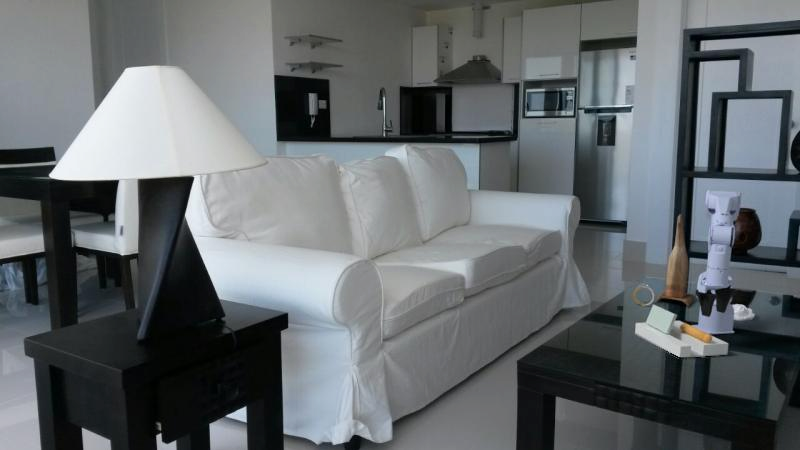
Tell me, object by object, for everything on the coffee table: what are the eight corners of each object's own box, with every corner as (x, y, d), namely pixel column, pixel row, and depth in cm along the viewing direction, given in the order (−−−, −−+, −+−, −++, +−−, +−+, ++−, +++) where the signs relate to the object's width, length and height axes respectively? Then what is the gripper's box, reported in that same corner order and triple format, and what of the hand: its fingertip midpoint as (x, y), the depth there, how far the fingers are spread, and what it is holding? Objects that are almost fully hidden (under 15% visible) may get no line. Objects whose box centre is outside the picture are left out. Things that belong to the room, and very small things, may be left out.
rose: (760, 305, 213) (750, 310, 207) (758, 318, 214) (749, 323, 207) (728, 299, 220) (718, 304, 214) (727, 311, 221) (716, 316, 214)
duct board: (678, 331, 197) (679, 320, 196) (727, 355, 177) (728, 343, 176) (634, 334, 194) (635, 323, 193) (679, 358, 173) (680, 346, 173)
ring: (631, 305, 225) (633, 283, 224) (633, 303, 228) (635, 281, 227) (652, 308, 221) (654, 286, 220) (654, 306, 224) (656, 284, 223)
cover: (655, 305, 192) (653, 304, 192) (677, 315, 182) (674, 314, 182) (648, 323, 192) (645, 322, 192) (669, 334, 183) (666, 333, 182)
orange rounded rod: (685, 330, 187) (686, 321, 187) (713, 343, 176) (714, 335, 175) (677, 330, 187) (678, 322, 186) (705, 344, 175) (706, 335, 175)
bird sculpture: (694, 300, 233) (702, 214, 228) (689, 308, 223) (698, 217, 218) (661, 296, 239) (669, 211, 234) (655, 303, 229) (663, 214, 224)
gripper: (718, 262, 188) (714, 307, 190) (690, 267, 180) (685, 314, 182) (742, 267, 183) (737, 312, 185) (714, 272, 175) (709, 320, 177)
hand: (713, 313), depth 183 cm, fingers open, 7 cm apart
